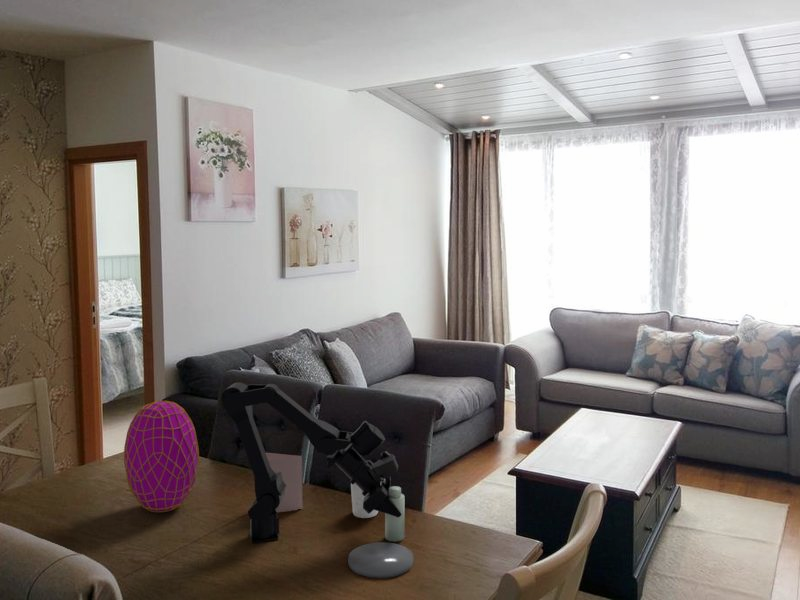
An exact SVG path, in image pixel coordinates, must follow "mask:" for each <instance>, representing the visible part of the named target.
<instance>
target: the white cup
mask: <svg viewBox="0 0 800 600" xmlns="http://www.w3.org/2000/svg"><path fill="white" fill-rule="evenodd" d="M350 493H351V494H350V495H351V505H352V514H353V516H355V517H356V518H360V519H361V518H362V519H369V518H373V517H375V516H377V514H378V513H379V511H377V510H373V511H372V512H371V513H369V514H368V513H367V512H366V511H365V510H364V509H363V501H364V497H365V496H364V495H363V494H362V490H361V489H360V488H359V487H358V486H357V485H356V484H355V483H354V484H352V483H351V482H350Z"/></svg>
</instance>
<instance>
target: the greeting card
mask: <svg viewBox="0 0 800 600" xmlns="http://www.w3.org/2000/svg"><path fill="white" fill-rule="evenodd" d="M265 453H266V456H267V458H268V461H269V464H270V467H271V469H272V470H273V471H274V472H275V473H276V474H277V473H279V472H281V474H282V479H283V481H284V483H285V484H286V487H285V494H284V496H283V498H282V500H281V502H280V504H279V506H278V507H277V508H276V509H275V510H276V512H277V513H284V512H292V510H293V511H299V510H298V509H301V510H303V456H302V455H295V454H285V453H283V454H281V453H274V452H273V453H271V452H265Z"/></svg>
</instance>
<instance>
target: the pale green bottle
mask: <svg viewBox="0 0 800 600" xmlns="http://www.w3.org/2000/svg"><path fill="white" fill-rule="evenodd" d="M389 497H390V499H391V500H392V501H393V503H394V504H395V505H396V507H397V508H398V509H399V511H400V512H401V516H400V517H396V516H393V515H390V514H387V513H384V527H385V528H384V538H385V540H387V541H389V542H392V543H393V542H395V543H396V542H401V541H403V540H404V539H405V502H406V501H405V494H404V493H402V487H400V486H397V485H396V486H395V485H393V486H391V487H390V488H389Z"/></svg>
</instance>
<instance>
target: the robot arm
mask: <svg viewBox="0 0 800 600" xmlns="http://www.w3.org/2000/svg"><path fill="white" fill-rule="evenodd" d="M220 404H221V405H222V407H223V410H224V411H225V413H226V414H227V416H228V417H229V418H230V419H231V421H232V422H233V423H234V425H235V426H236V429H237V431H238V434H239V437H240V440H241V442H242V445H243V449H244V451H245V454H246V457H247V460H248V463H249V465H250V468H251V472H252V474H253V476H254V494H255V498H254V500H253V501H252V503H251V505H250V507H249V508H248V510H247V515H248V518H249V528H250V529H249V531H248V534H249V538H250V542H251V543H253V544H254V543H262V542H268V541H269V542H270V541H276V540H279V534H280V518H279V515H278V512H277V513H276V510H275V509H276V508H277V507H278V506H279V504H280V502H281V500H282V498H283V496H284V494H285V487H286V484H285V483H284V481H283V479H282V474H281V472H279V473H277V474H276V473H275V472H274V471H273V470H272V469H271V467H270V464H269V461H268V458H267V456H266V453H267V452H266V451H265V447H264V444H263V441H262V439H261V435H260V434H259V431H258V427H257V425H256V422H255V419H254V416H253V415H254V414H253V406H254V405H260V404H268V405H269V406H271V407H272V408H273V409H275V410H276V411H277V412H278V413H279V414H281V415H282V416H283V417H284V418H286V419H287V420H288V421H289V422H291V423H292V424H293V425H294V426H295V427H296V428H297V429H298V430H300V431H301V432H303V433H304V435H305V436H306V438H307V440H308V442H309V443H310V444H311V445H312V446H313V447H314V448H315V449H316V451H317V452H318V453H319V454H321V455H323V456H327V458H326V460H327V466H326V468H327V469H328V470H330V469H332V467H333V466H335V465H336V466H337V467H338V469H340V470H341V471H342V472H343V473H344V474H345V475H346V476H347V478H349V479H350V481H349V483H350V484H351V483H352V484H354V483H355V484H356V485H357V486H358V487H359V488H360V489H361V490H362V494H363V495H364V496H365V497H364V501H363V509H364V510H365V511H366V512H367V513H368V514H369V513H371V512H372V511H373V510H377V511H378V512H381V513H384V514H385V513H387V514H390V515H393V516H396V517H400V516H401V512H400V511H399V509H398V508H397V507H396V505H395V504H394V503H393V501H392V500H391V499H390V497H389V488H390V487H392V486H391V480H392V479H391V476H389V475H391V474H395V473H397V472H398V471H399V464H398V461H397V460H396V456H395V455H394V454H393V453H389V452H388V451H387V450H385V451H383V452H381V453H380V459H377V461H375V462H372V460H369V459H367V460H366V459H364V458H363V457H365V456H367V457H369V456H370V455H371V454H372V453H374V452H375V450H377V449H378V448H379V447H380V446H381V445H382V443H384V442H385V441H386V437H385V435H384V433H382V431H381V430H380V429H379V428H378V427H377V426H375V425H373V424H371V423H369V422H368V421H367V420H363V422H362V423H361V424H360V426H359V427H358V428H357V429H356V430H355V431H353V432H352V431H346V430H339V429H338V428H337V427H335V426H334V425H333V424H330V423H328V422H326V421H324V420H321V419H319V418H316V417H315V416H314V415H312V414H311V413H309V412H308V411H307V410H306V409H305V408H303V406H301V405H299V404H298V403H297V402H296V401H295V400H293V399H292V398H291V397H290V396H289V395H287V394H286V393H285V392H284V391H283V390H281V389H280V387H279V386H277V385H276V383H275V384H274V383H267V384H259V383H258V384H256V383H255V384H253V383H252V384H245V383H243V382H238V381H237V382H235V383H232V384H230V386H229V387H227V388H225V390H223V392H222V393H221V396H220ZM362 456H363V457H362ZM386 476H388V477H387V478H386V479H385V477H386Z"/></svg>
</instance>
